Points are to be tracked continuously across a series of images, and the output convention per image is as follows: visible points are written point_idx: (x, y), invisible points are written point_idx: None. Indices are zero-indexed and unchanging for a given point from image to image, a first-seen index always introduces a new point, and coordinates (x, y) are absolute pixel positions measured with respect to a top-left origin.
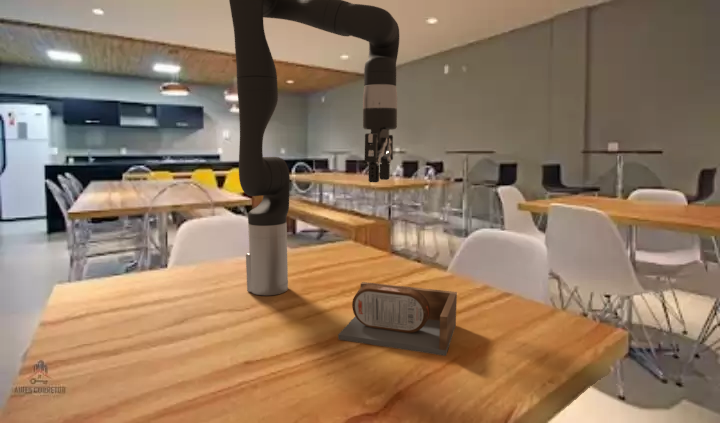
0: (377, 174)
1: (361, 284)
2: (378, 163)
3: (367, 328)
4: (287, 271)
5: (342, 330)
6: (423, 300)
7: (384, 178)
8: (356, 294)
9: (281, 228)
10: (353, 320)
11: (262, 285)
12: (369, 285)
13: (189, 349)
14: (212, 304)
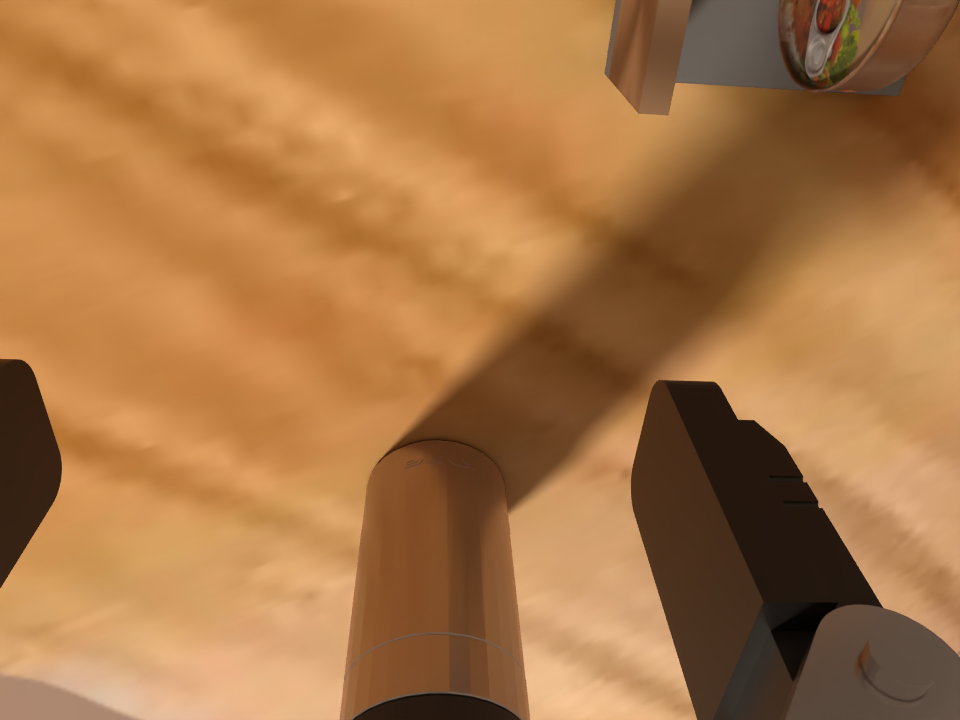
0: (756, 466)
1: (667, 108)
2: (902, 633)
3: None
4: (408, 494)
5: (859, 92)
6: None
7: (36, 424)
8: (902, 76)
9: (463, 672)
10: (754, 77)
11: (507, 512)
12: (908, 18)
13: (932, 462)
14: (611, 565)
